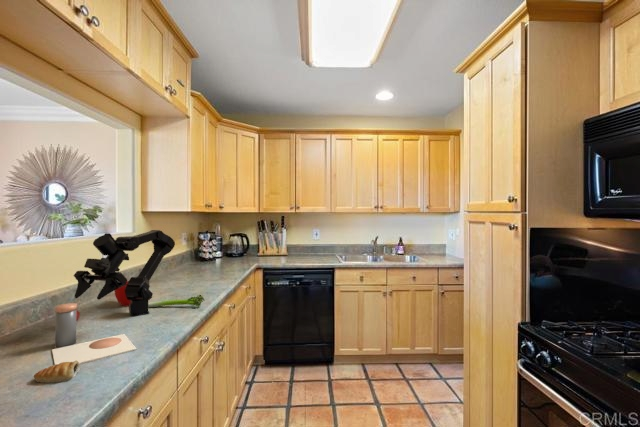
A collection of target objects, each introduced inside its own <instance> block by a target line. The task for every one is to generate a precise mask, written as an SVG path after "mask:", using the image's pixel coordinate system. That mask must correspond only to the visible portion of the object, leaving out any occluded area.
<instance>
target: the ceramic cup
mask: <svg viewBox="0 0 640 427" xmlns="http://www.w3.org/2000/svg"><path fill="white" fill-rule="evenodd" d="M128 282H129V280H127V283H128ZM127 283H126V284H127ZM126 286H127V285H125V286H121V288H118V289H116V290H114V291H113V292H114V296H115V298H116V300H117V302H118V303H119V304H120V305H122V306H124V307H129V304H130V303H131V300H127V297H126V294H125V288H126Z"/></svg>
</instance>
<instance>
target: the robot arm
mask: <svg viewBox="0 0 640 427" xmlns="http://www.w3.org/2000/svg"><path fill="white" fill-rule="evenodd" d="M149 242H151V244H153V245H152V246H153V252H152V254H151V255H150V257H149V258H148V260H147V262H146V263H145V265H144V266H143V267H142V269H141V271H140V272H139V274H138V276H135V277H134V276H133V277H130V278H129V280H128V278H127V277H126V276H125V275H124V274H123V273H122V272H121V271H120V270H121V269H120V268H119V267H120V266H121V265H122V263H123V262H124V261H130V257H129V253H126V252H133V251H135V250H137V249H138V248H139V247H140V245H143V244H145V243H149ZM92 244H93V246H94V247H95V248H96V249H97V251H98V252H99V253H100V254H101V255H102V256H106V257H101V258H87V259H86V261H85V263H84V266H83V268H86V269H87V268H88V269H90V272H89V271H88V270H76V272H75V273H74V274H73V277H74V278H75V280H76V281H77V286H76V287H77V288H76V290H75V294H74V298H75V299H79V298H80V297H81V296H82V295H83V294H84V293H85V292H86V291H88V290H89V289H90V288H91V287H92V284H94V282H95V281H99V282H100V281H103V282H104V285H103V287H102V288H101V290H100V291H99V293H98V295H97V296H96V299H97V300H101V299H102V298H104V297H106V296H108V295H109V294H111V293H112V292H115V291H114V290H116V289H118V288H121V286H125V285H127V286H126V288H125V294H126V297H127V300H131V303H130V304H129V306H128V312H129V314H130V315H131V316H132V317H136V316H141V315H147V314H148V315H149V314H150V311H149V308H148V303H149V301H150V300H152V298H153V294H154V293H153V292H152V291H151V290H150V280H151V278H152V277H153V276H154V273H155V272H156V270H157V269H158V267H159V265H160V263H161V262H162V260H163V259H164V257H165V256H166V255H169V253H171V251H173V249H174V248H175V245H176V242H175V240H174V239H173V238H172V237H171V236H170V235H167V234H166V233H164V232H163V231H162V230H160V229H151V230H149V231H145V232H143V233H139V234H135V235H133V236H132V235H131V236H130V235H129V236H118V237H116V238H114V237H113V235H112V234H111V233H109V232H108V233H104V234H103V235H101V236H99V237H97V238H95V239H94V240H93V243H92ZM93 273H94V274H93ZM127 281H129V282H128V283H127ZM126 283H127V284H126Z"/></svg>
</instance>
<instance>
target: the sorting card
mask: <svg viewBox="0 0 640 427" xmlns="http://www.w3.org/2000/svg"><path fill="white" fill-rule="evenodd" d="M133 351H137V347H136V346H135V345H134V344H133V342H132V341H131V339H130V338H128V336H127V335H126V334H125V333H123V334H118V335H113V336H107V337H104V338H99V339H94V340H89V341H86V342H81V343H80V342H79V343H76V344H74V345H71V346H66V347H61V348H54V349H51V353H52V357H53V363H54V365H55V364H60V363H62V362H74V361H78V362H79V364H80V365H81V364H82V365H83V364H86V363H90V362H95V361H98V360H101V359H105V358H110V357H113V356H117V355H122V354H127V353H129V352H133Z"/></svg>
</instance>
